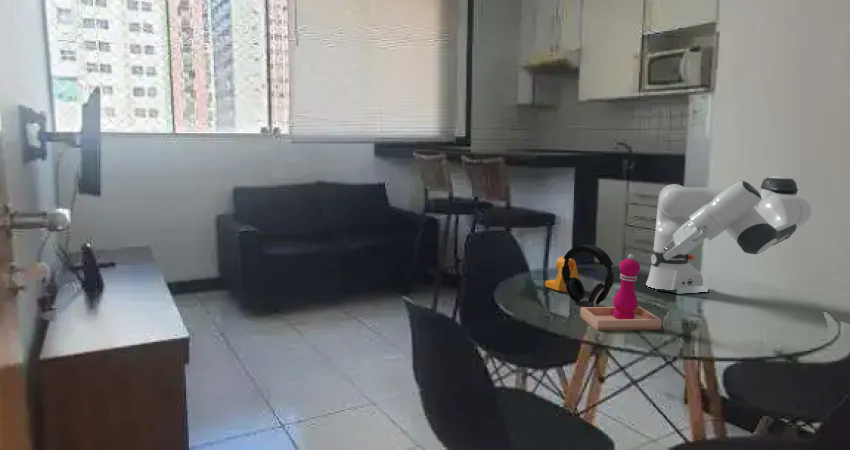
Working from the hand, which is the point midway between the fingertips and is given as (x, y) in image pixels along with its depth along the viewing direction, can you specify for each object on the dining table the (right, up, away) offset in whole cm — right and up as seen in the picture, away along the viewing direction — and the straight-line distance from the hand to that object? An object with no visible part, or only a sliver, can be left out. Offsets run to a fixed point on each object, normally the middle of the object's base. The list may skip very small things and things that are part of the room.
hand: (664, 254), depth 174 cm
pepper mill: (-9, -20, +10) cm, 24 cm away
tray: (-11, -21, +8) cm, 25 cm away
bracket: (-20, -15, +45) cm, 51 cm away
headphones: (-16, -18, +26) cm, 36 cm away
